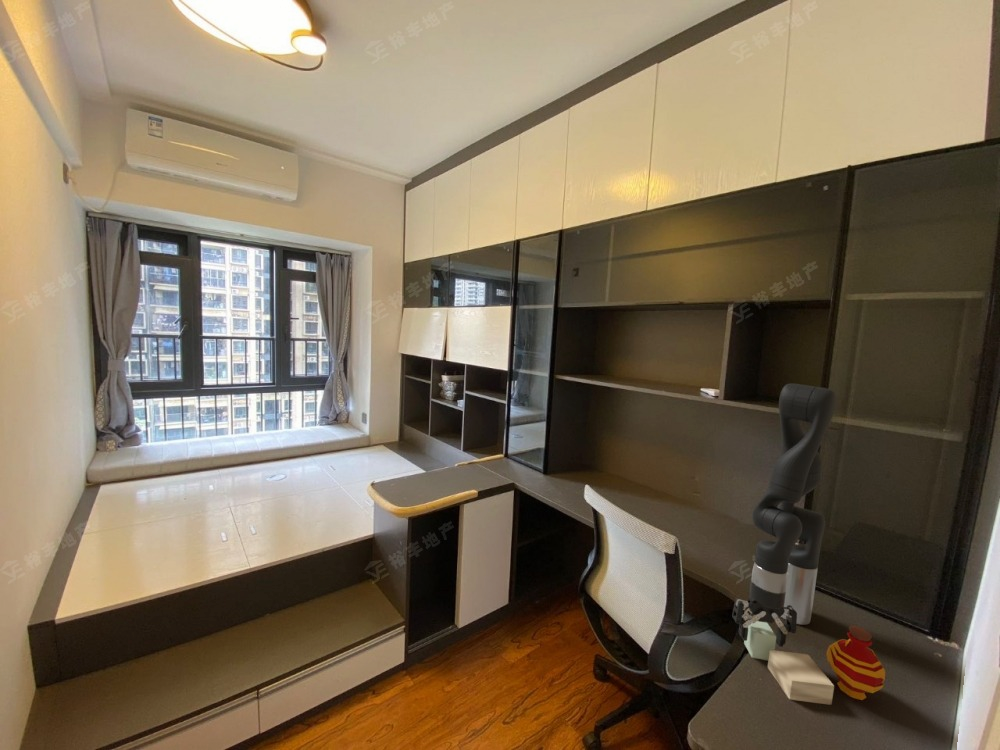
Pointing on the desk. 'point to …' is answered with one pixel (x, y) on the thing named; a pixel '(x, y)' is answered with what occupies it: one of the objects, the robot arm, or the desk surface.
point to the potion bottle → (856, 664)
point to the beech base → (800, 677)
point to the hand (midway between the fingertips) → (760, 641)
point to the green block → (760, 640)
